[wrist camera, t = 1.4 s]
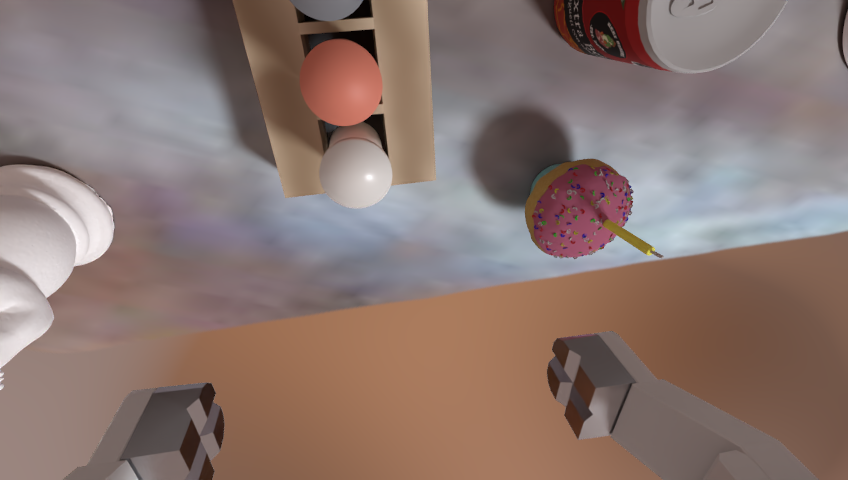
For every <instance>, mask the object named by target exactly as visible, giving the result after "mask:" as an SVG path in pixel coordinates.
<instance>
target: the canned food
mask: <svg viewBox="0 0 848 480" xmlns="http://www.w3.org/2000/svg"><path fill="white" fill-rule="evenodd" d="M787 1H788V0H554V15H555V20H556V24H557V27H558V29H559V31H560V33H561V35H562V37H563V38H564V39H565V40H566V41H567V43H568V44H569V45H570V46H571V47H573V48H574V49H576V50H577V51H579V52H582V53H585V54H588V55H593V56H598V57H602V58H607V59H612V60H616V61H621V62H626V63H630V64H635V65H640V66H645V67H649V68H654V69H659V70H666V71H671V72H677V73H693V74H694V73H702V72H708V71H711V70H714V69H717V68H720V67H722V66H724V65H726V64H728V63H730V62H732V61H734V60H735V59H737V58H738V57H740V56H741V55H742V54H744V53H745V52H747V51H748V50H749V49H750V48H751V47H752V46H753V45H755V44H756V43H757V42H758V41H759V40H760V39H761V38H762V37H763V36H764V34H765V33H766V32H767V31H768V30H769V29H770V27H771V26H772V25H773V24H774V22H775V21H776V19H777V18H778V16H779V15H780V13H781V12H782V10H783V9H784V7H785V5H786V3H787Z"/></svg>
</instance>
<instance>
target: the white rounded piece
mask: <svg viewBox="0 0 848 480" xmlns="http://www.w3.org/2000/svg"><path fill="white" fill-rule="evenodd" d="M319 177H320V182H321V185H322V187H323V189H324V191H325V193H326V194H327V195H328V196H329V197H330V198H331V199H332V200H333V201H335V202H336V203H338V204H340V205H342V206H345V207H348V208H365V207H369V206H371V205H374V204H376V203H377V202H379V201H380V200H381V199H382V198H383V197H384V196H385V195H386V194H387V192H388V190H389V188H390V186H391V183H392V168H391V163H390V160H389V158H388V156H387V154H386V153H385V151H384V150H383V149H382V144H381V140H380V137H379V135H378V133H377V132H376V131H375V129H373V128H372V127H371V126H370V125H368V124H366V123H364V122H360V123H358V124H355V125H351V126H338V127H337V128H336V129H335V130H334V132H333V134H332V136H331V139H330V144H329V148H328V149H327V151H326V152H325V154H324V155H323V158H322V160H321V164H320V170H319Z"/></svg>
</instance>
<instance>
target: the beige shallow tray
mask: <svg viewBox="0 0 848 480" xmlns="http://www.w3.org/2000/svg"><path fill="white" fill-rule="evenodd" d="M233 4H234V8H235V12H236V15H237V19H238V23H239V27H240V30H241V34H242V38H243V42H244V45H245V49H246V53H247V56H248V60H249V64H250V68H251V71H252V75H253V79H254V83H255V86H256V90H257V94H258V98H259V101H260V105H261V109H262V112H263V116H264V120H265V124H266V127H267V131H268V135H269V139H270V142H271V146H272V150H273V154H274V157H275V161H276V165H277V168H278V172H279V176H280V180H281V183H282V187H283V191H284V195H285V198H289V197H297V196H306V195H314V194H323V193H325V191H324V189H323V187H322V185H321V182H320V177H319V170H320V164H321V160H322V158H323V155H324V154H325V152H326V151H327V149H328V148H329V143H328V138H327V133H326V128H325V122H324V120H322V119H321V118H319V117H318V116H317V115H315V114H314V113H313V112H312V111H311V109H310V108H309V107H308V105H307V104H306V102H305V100H304V98H303V96H302V92H301V89H300V71H301V66H302V64H303V61H304V60H305V58H306V56H307V55H308V54H309V52H310V51H311V49H310V44H309V39H308V34H316V33H329V32H342V31H355V30H368V29H372V32H373V41H374V49H375V58H376V63H377V65H378V67H379V70H380V73H381V76H382V85H383V89H382V96H381V100H380V102H379V105H378V107H377V108H376V110H375V111H374V112H373V114H382V119H383V128H384V136H385V145H386V154H387V156H388V158H389V160H390V163H391V168H392V183H391V185H399V184H407V183H416V182H424V181H433V180H436V170H435V150H434V129H433V109H432V89H431V69H430V48H429V28H428V8H427V0H369V6H370V14H371V16H367V17H353V18H343V19H340V20H336V21H321V20H313V21H305V18H304V13H302V12H301V11H300V10H298V9H297V8H296V7H295V6H294V5H293V4H292V3H291V2H290V0H233ZM373 114H372V115H373Z"/></svg>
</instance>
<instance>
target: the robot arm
mask: <svg viewBox="0 0 848 480" xmlns="http://www.w3.org/2000/svg"><path fill="white" fill-rule="evenodd" d="M843 52H844V57H845V60H846V63H847V65H848V11H847V15H846V19H845V24H844V30H843ZM552 351H553V352H554V354H555V357H554V358H553V359H552V360H551V361H550V362H549V364H548V369H547V377H548V384H549V387H550V390H551V392H552V394H553V396H554V398H555V399H556V400H557V401H558V402H560V403H561V404H563V405H564V406H566V409H565V414H564V416H565V417H566V419H567V421H568V423H569V425H570V426H571V428H572V430H573V431H574V433H575V435H576V437H577V439H578V440H580V439H588V438H595V437H602V436H609V435H611V438H613V439H614V440H615V441H616V442H617V443H619V444H620V445H621V446H622V447H623V448H625V449H626V450H627V451H628V452H630V453H631V454H632V455H633V456H635V457H636V458H637V459H638V460H640V461H641V462H642V463H643V464H644V465H646V466H647V467H648V468H649V469H651V470H652V471H653V472H655V473H656V474H657V475H658V476H659V477H661V478H662V479H663V480H819V479H818V478H816V477H815V476H814V475H813V474H812V473H811V472H810V471H809V470H808V469H807V468H806V467H805V466H804V465H803V464H802V463H801V462H800V461H799V460H798V459H797V458H796V457H795V456H794V455H793V454H792V453H791V452H790V451H789V450H788V449H787V448H786V447H785V446H784V445H783V444H782V443H781V442H780V441H779V440H777V439H775V438H773V437H771V436H769V435H767V434H765V433H764V432H762V431H760V430H758V429H756V428H754V427H752V426H750V425H748V424H746V423H745V422H743V421H741V420H739V419H737V418H735V417H733V416H732V415H730V414H728V413H726V412H724V411H722V410H720V409H718V408H716V407H715V406H713V405H711V404H709V403H707V402H705V401H703V400H701V399H700V398H698V397H696V396H694V395H692V394H690V393H688V392H686V391H684V390H683V389H681V388H679V387H677V386H675V385H673V384H671V383H669V382H667V381H666V380H663V379H662V380H657V379H656V377H655V376H654V375H653V374H652V373H651V372H650V370H649V369H648V368H647V367H646V366H645V365H644V364H643V362H641V360H640V359H639V358H638V357H637V356H636V354H635V353H634V352H633V351H632V350H631V349H630V348H629V346H628V345H627V344H626V343H625V342H624V341H623V340H622V338H620V336H619V335H618V334H617V333H615V332H613V331H609V332H602V333H594V334H586V335H578V336H571V337H564V338H557V339H556V340H555V341H554V344H553V347H552ZM215 394H216V392H215V390H214V388H213V386H212V384H211V383H198V384H188V385H178V386H168V387H159V388H152V389H144V390H133V391H132V392H131V393H130V394H128V395H127V396H126V397H125V399H124V400H123V402H122V404H121V405H120V407H119V409H118V411H117V412H116V414H115V416H114V418H113V420H112V421H111V423H110V425H109V427H108V428H107V430H106V432H105V434H104V435H103V437H102V439H101V441H100V442H99V444H98V446H97V448H96V450H95V451H94V453H93V455H92V457H91V458H90V460H89V462H88V464H87V465H86V466H82V467H77V468H76V469H75V470H74V471H72V472H71V473H70V474H69V475H68V476H66V477H65V478H64V479H63V480H212V478H213V475H214V469H213V467H212V464H211V462H210V461H211V460H212V459H213V458H214V457H215V456H216V455H217V454H218V453H219V452H220V449H221V445H222V441H223V437H224V416H223V412H222V409H221V407H220V406H218V405H217V404H215V403H213V400H214V397H215Z"/></svg>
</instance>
